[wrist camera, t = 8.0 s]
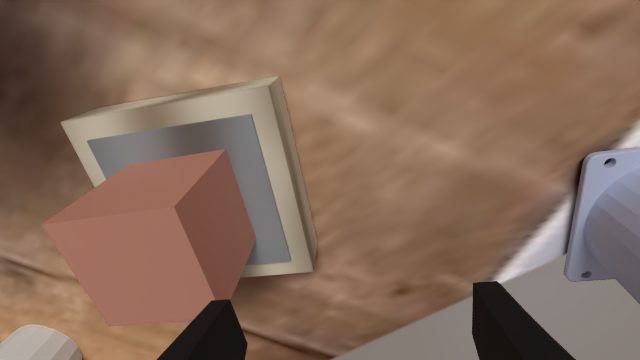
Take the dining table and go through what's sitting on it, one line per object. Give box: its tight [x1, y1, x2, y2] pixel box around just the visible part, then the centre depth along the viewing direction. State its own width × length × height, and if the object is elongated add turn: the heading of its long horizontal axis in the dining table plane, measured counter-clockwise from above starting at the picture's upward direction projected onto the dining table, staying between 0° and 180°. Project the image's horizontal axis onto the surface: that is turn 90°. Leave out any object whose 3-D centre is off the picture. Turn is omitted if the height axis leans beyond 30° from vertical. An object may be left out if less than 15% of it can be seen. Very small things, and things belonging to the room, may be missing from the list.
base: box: [60, 76, 317, 278], centre depth 18 cm, size 10×10×3 cm
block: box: [42, 149, 256, 326], centre depth 14 cm, size 5×5×5 cm
